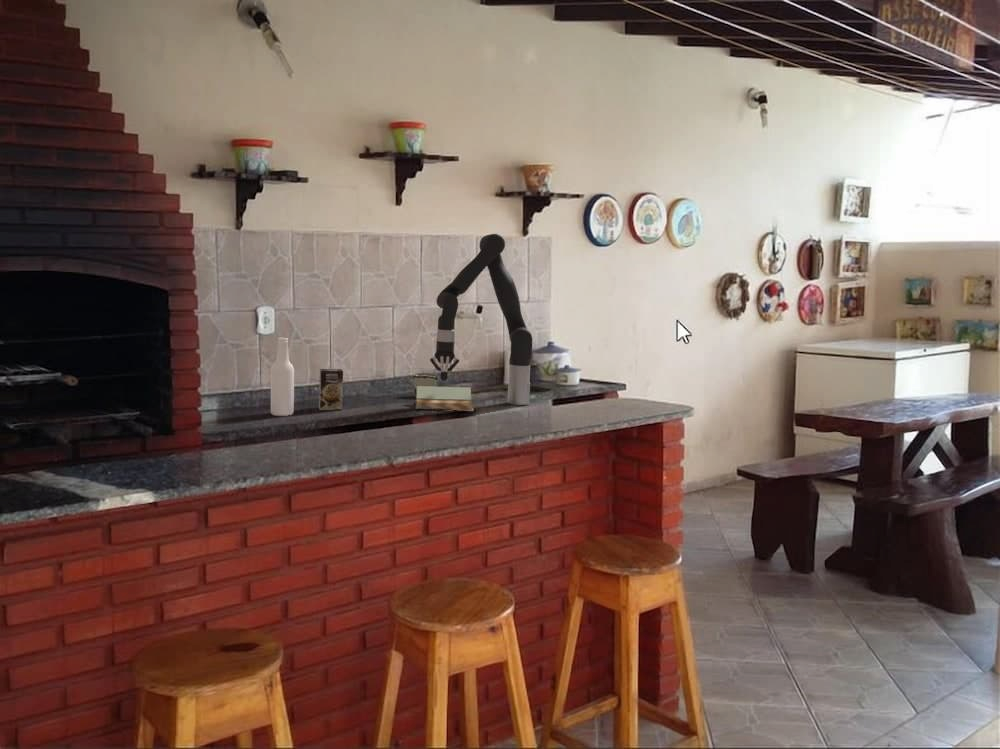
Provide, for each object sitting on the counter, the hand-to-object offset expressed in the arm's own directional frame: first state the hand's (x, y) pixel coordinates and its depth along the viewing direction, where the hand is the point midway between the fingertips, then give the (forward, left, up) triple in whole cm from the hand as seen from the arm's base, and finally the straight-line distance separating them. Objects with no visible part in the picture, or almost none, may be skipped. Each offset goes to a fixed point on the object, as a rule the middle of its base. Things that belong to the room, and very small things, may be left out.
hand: (443, 380), depth 401 cm
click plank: (0, +1, -7) cm, 7 cm away
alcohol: (+64, +28, -11) cm, 71 cm away
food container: (+7, -20, -11) cm, 23 cm away
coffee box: (+46, +15, -11) cm, 50 cm away
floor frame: (0, +4, -11) cm, 11 cm away
